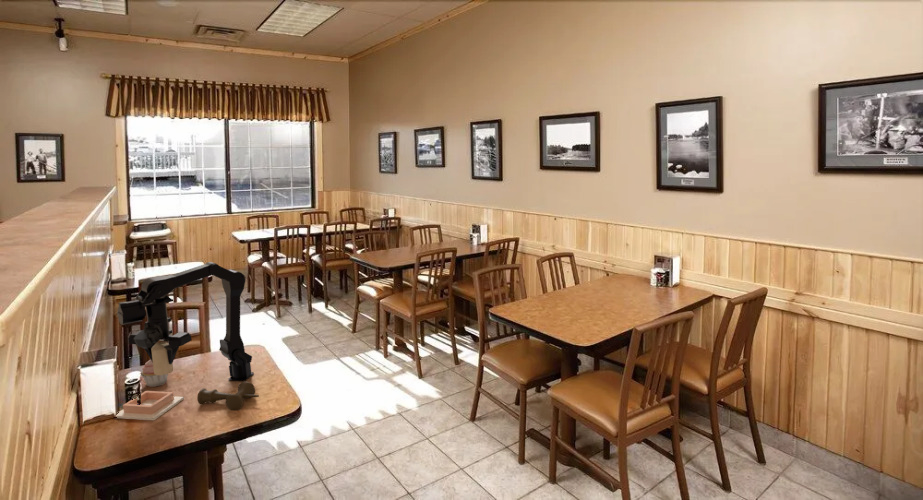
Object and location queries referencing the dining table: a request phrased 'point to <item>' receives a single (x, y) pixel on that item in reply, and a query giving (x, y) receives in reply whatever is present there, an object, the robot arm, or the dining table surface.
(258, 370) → the dining table surface
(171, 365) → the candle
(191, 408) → the dining table surface
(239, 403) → the kendama
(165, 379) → the cupcake
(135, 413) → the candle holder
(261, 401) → the dining table surface
